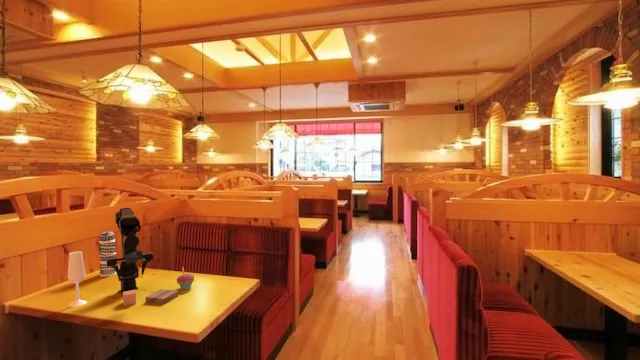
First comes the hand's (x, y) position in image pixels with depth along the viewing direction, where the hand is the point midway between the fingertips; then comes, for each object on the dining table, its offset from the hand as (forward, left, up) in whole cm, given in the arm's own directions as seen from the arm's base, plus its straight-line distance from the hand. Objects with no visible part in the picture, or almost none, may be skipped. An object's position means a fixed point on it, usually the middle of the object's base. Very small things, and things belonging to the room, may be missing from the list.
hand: (131, 277), depth 156 cm
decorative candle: (-46, +31, -12) cm, 57 cm away
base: (+11, +6, -12) cm, 18 cm away
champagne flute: (-24, -7, -12) cm, 27 cm away
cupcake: (+13, +21, -12) cm, 28 cm away
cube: (-1, -1, -12) cm, 12 cm away
